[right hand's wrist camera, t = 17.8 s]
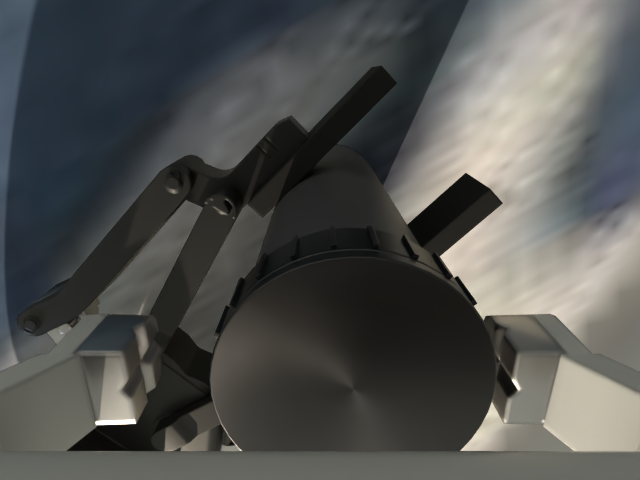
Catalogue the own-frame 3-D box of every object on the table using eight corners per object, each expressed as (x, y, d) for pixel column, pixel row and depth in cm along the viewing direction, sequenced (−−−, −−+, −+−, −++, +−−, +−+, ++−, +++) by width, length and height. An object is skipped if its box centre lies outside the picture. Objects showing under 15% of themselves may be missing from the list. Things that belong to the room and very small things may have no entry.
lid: (524, 292, 9) (563, 333, 8) (391, 467, 11) (403, 528, 10) (290, 175, 8) (284, 196, 7) (185, 386, 10) (163, 439, 9)
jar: (300, 246, 24) (279, 472, 10) (269, 161, 22) (192, 293, 8) (387, 220, 23) (488, 419, 10) (362, 130, 22) (439, 218, 8)
